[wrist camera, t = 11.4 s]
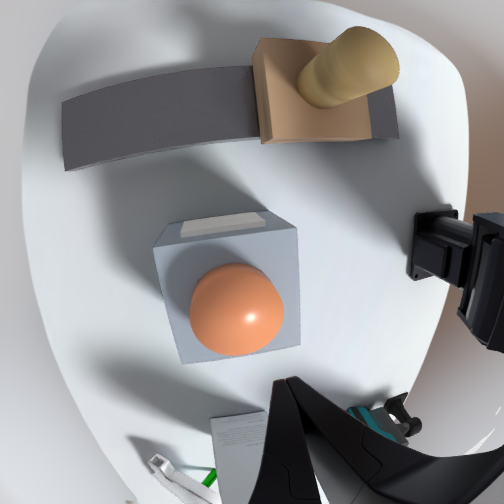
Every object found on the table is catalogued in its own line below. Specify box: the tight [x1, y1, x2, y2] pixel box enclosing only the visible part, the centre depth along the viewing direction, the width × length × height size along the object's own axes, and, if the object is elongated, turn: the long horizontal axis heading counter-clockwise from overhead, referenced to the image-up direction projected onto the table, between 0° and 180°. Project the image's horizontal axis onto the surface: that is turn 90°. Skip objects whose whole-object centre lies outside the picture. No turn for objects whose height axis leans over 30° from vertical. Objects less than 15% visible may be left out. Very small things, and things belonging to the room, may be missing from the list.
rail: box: [62, 66, 399, 171], centre depth 16 cm, size 24×5×2 cm, turn 95°
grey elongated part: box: [147, 453, 222, 504], centre depth 24 cm, size 15×8×11 cm
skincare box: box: [210, 411, 268, 504], centre depth 19 cm, size 6×4×12 cm
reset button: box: [190, 263, 284, 356], centre depth 14 cm, size 4×4×4 cm
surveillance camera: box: [346, 393, 422, 447], centre depth 23 cm, size 6×12×10 cm
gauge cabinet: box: [153, 211, 301, 364], centre depth 17 cm, size 7×7×6 cm
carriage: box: [252, 26, 399, 144], centre depth 11 cm, size 6×6×8 cm
